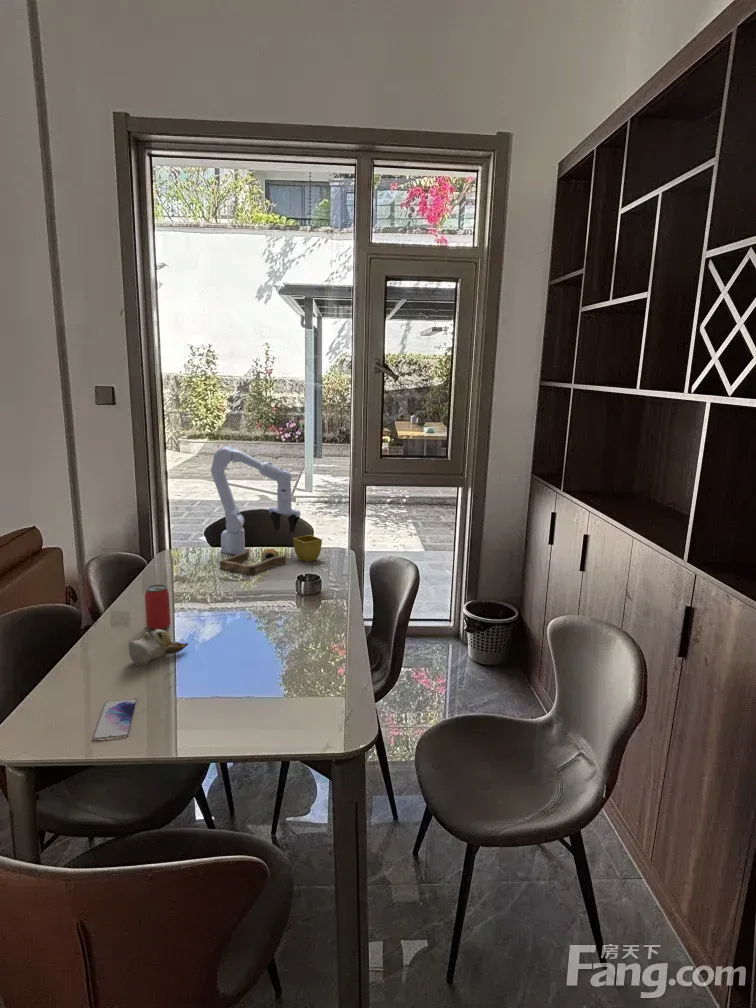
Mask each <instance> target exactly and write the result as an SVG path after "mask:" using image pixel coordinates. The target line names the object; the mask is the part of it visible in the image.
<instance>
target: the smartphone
mask: <svg viewBox="0 0 756 1008" xmlns="http://www.w3.org/2000/svg"><path fill="white" fill-rule="evenodd" d="M137 701H138V699H137V698H131V699H129V698H128V699H120V700H119V699H118V700H107V701H105V702H104V704H103V706H102V710H101V712H100V715H99V718H98V721H97V722H96V723H97V724H96V727H95V729H94V731H93V736H92V739H91V740H92V741H93V740H98V739H106V738H117V737H119V739H121V738H120V737H124V736H128V735H129V736H130V734H131V730H132V726H131V724H132V725H133V722H132V720H133V721H134V718H133V715H134V716H135V714H134V710H135V706H136V703H137V704H138V702H137ZM136 707H137V706H136ZM135 711H136V710H135ZM130 729H131V730H130ZM129 733H130V734H129ZM129 736H128V737H129Z"/></svg>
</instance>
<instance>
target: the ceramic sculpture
mask: <svg viewBox="0 0 756 1008" xmlns="http://www.w3.org/2000/svg"><path fill="white" fill-rule="evenodd" d="M188 645H189V643H188V642H185V643H181V642H178V641H176V642H173V641H172V639H171V635H170V633H168V632H167V631H165V630H163V629H154V628H150V629H149V628H148V629H146V630H145V631H144V632H143V635H142V637H141V638H140V639H137V640H131V641H130V642H129V644H128V650H129V651H128V654H129V657H130V659H131V660H132V662H133V663H134V664H135V665H137V666H146V665H148V663H150V661H151V660H154V659H157V658H158V659H159V658H161V657H163V656H166V655H174V654H177V653H179V652H181V651H182V650H184V649H185V648H186V647H188Z"/></svg>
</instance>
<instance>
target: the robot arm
mask: <svg viewBox="0 0 756 1008" xmlns="http://www.w3.org/2000/svg"><path fill="white" fill-rule="evenodd" d="M231 462H232V463H241V464H245V465H247V466H250V467H251V468H254V469H256V470H258V472H259V474H260V475H262V476H263V477H266V478H268V479H270V480H272V481H276V483H277V489H276V490H277V491H276V492H277V495H276V496H277V500H276V502H277V507H274V506H273V507H269V508H268V512H269V513H270V514H269V518H270V519H271V521H272V523H273V526H274V529H275V531H279V530H281V529H280V528H281V518H282V517H281V516H282V515H286V516H287V519H288V523H289V533H290V534H293V533H295V530H296V527H297V524H298V521H299V519H300V518H301V511H300V510H296V509H292V484H291V481H292V474H291V472H290V471H289V470H288V469H283V467H278V466H277V465H275V464H273V462H272V461H264V462H261V461H259V460H258V459H256V458H255V457H253V456H250V455H248V454H247V453H245V452H243V451H241V450H239V449H236V448H233V447H231V446H229V445H225V446H222V448H220V449H218V450H217V451H216V452H215V454H214V455H213V460H212V464H211V468H210V472H211V476H212V478H213V481H214V484H215V487H216V489H217V492H218V496H219V499H220V501H221V502H220V503H221V504H222V506H223V507H222V508H223V510H224V518H225V528H226V529H225V530H223V531H222V532H221V533H220V550H219V552H220V553H225V554H231V555H234V556H235V555H237V554H240V553H243V551H244V550H245V549H246V547H245V546H246V542H245V529H244V524H245V517H244V515H242V514H241V513H240V509H239V508H238V507H237V504H236V501H235V499H234V496H233V492H232V489H231V487H230V484H229V482H228V479H227V476H226V472H225V470H226V468H227V467H228V465H229V463H231Z"/></svg>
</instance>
